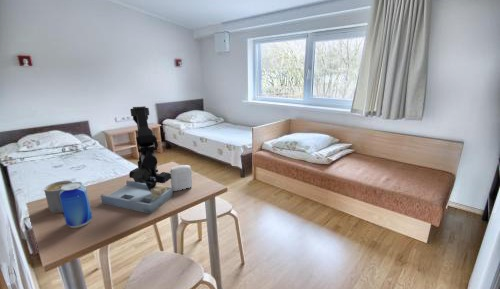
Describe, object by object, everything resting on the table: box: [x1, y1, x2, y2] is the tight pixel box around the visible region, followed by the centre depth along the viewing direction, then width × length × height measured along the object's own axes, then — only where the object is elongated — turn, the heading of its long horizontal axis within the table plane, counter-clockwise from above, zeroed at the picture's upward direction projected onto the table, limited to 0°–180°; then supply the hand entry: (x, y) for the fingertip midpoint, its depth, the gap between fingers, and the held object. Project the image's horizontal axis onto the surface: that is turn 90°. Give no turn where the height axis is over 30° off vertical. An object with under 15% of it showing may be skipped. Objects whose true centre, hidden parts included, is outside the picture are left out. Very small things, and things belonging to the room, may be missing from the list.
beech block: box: [151, 184, 168, 198], centre depth 115 cm, size 5×5×4 cm
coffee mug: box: [43, 180, 73, 214], centre depth 108 cm, size 13×10×10 cm
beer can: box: [59, 181, 93, 229], centre depth 97 cm, size 8×8×16 cm
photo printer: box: [169, 164, 193, 192], centre depth 125 cm, size 10×4×12 cm, turn 116°
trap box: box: [100, 180, 174, 214], centre depth 116 cm, size 16×26×4 cm, turn 72°
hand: (151, 192), depth 117 cm, fingers closed
